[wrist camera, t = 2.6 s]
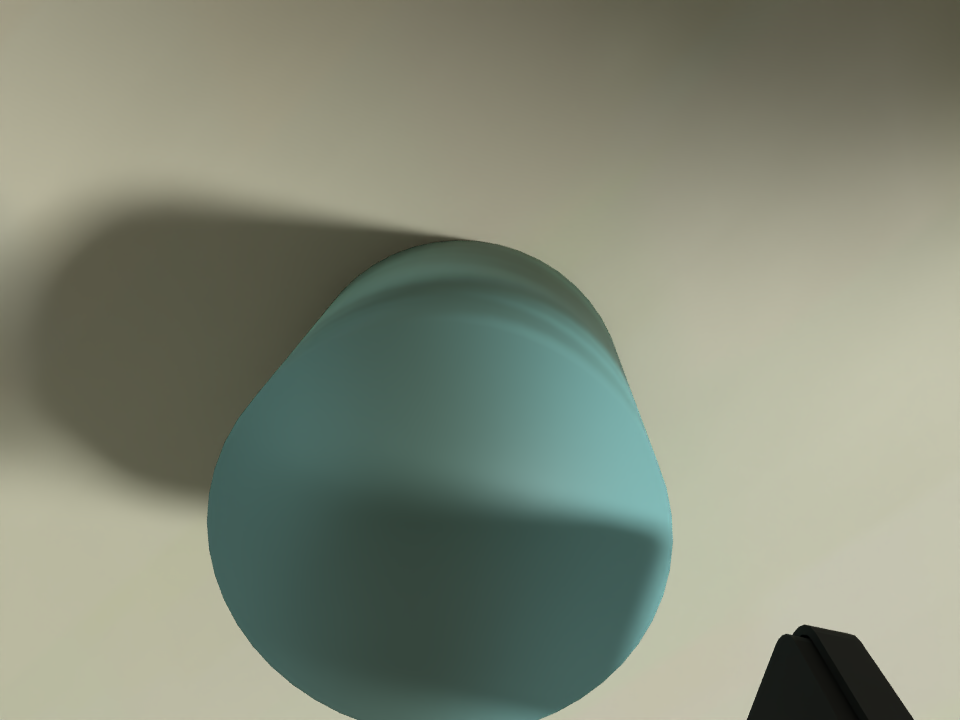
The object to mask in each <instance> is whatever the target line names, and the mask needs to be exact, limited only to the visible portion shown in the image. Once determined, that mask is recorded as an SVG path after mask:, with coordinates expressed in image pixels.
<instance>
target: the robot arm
mask: <svg viewBox="0 0 960 720" xmlns="http://www.w3.org/2000/svg"><path fill="white" fill-rule="evenodd" d="M747 720H914V719H913V718H912V716H911V715H910V713H909V712H908V710H907V709H906V707H905V706H904V704H903V703H902V701H901V700H900V698H899V697H898V696H897V694H896V693H895V691H894V690H893V688H892V687H891V685H890V684H889V682H888V681H887V679H886V678H885V676H884V675H883V674H882V672H881V671H880V669H879V668H878V666H877V665H876V663H875V662H874V660H873V659H872V657H871V656H870V654H869V653H868V652H867V650H866V649H865V647H864V646H863V644H862V643H861V641H860V640H859V639H858V638H857V637H856V636H855V635H851V634H847V633H843V632H838V631H833V630H828V629H823V628H819V627H814V626H809V625H802V626H800V627H798V628H797V630H796V631H795V632H794V633H793V635H789V634H785V635H782V636H781V637H780V638H779V639H778V641H777V643H776V645H775V648H774V651H773V653H772V656H771V658H770V661H769V664H768V666H767V669H766V671H765V674H764V677H763V679H762V682H761V684H760V687H759V690H758V692H757V695H756V697H755V700H754V703H753V705H752V708H751V710H750V713H749V716H748V718H747Z"/></svg>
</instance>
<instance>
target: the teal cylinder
mask: <svg viewBox="0 0 960 720" xmlns="http://www.w3.org/2000/svg"><path fill="white" fill-rule="evenodd" d="M207 528H208V541H209V551H210V555H211V560H212V564H213V569H214V573H215V577H216V579H217V582H218V585H219V587H220V590H221V593H222V595H223V598H224V601H225V602H226V604H227V606H228V608H229V610H230V612H231V614H232V616H233V617H234V619H235V621H236V623H237V625H238V626H239V628H240V629H241V630H242V632H243V633H244V635H245V636H246V637H247V639H248V640H249V642H250V643H251V644H252V646H253V647H254V648H255V649H256V650H257V651H258V652H259V654H260V655H261V656H262V657H263V658H264V659H265V660H266V661H267V662H268V663H269V664H270V666H271V667H273V668H274V669H275V670H276V671H277V672H278V673H280V674H281V675H282V676H283V677H284V678H285V679H287V680H288V681H289V682H290V683H291V684H292V685H294V686H295V687H297V688H298V689H300V690H301V691H303V692H304V693H306V694H307V695H309V696H310V697H312V698H313V699H315V700H316V701H318V702H320V703H322V704H324V705H326V706H328V707H330V708H332V709H333V710H335V711H337V712H339V713H341V714H344V715H347V716H349V717H352V718H354V719H357V720H539V719H541V718H544V717H546V716H549V715H551V714H553V713H556V712H558V711H560V710H561V709H563V708H565V707H567V706H569V705H570V704H572V703H574V702H576V701H577V700H579V699H581V698H582V697H584V696H585V695H586V694H588V693H589V692H590V691H592V690H593V689H595V688H596V687H597V686H599V685H600V684H601V683H603V682H604V681H605V680H606V679H607V678H608V677H609V676H610V675H611V674H612V673H613V672H614V671H615V670H616V669H617V668H618V667H620V666H621V665H622V663H623V662H624V661H625V660H626V659H627V657H628V656H629V655H630V654H631V652H632V651H633V650H634V649H635V647H636V646H637V645H638V644H639V642H640V640H641V639H642V637H643V635H644V634H645V632H646V630H647V629H648V627H649V625H650V624H651V622H652V620H653V618H654V616H655V613H656V611H657V609H658V606H659V604H660V602H661V599H662V597H663V594H664V590H665V586H666V582H667V578H668V574H669V571H670V563H671V553H672V544H673V539H672V515H671V510H670V505H669V499H668V494H667V489H666V485H665V483H664V480H663V477H662V474H661V471H660V468H659V465H658V463H657V460H656V457H655V454H654V452H653V449H652V446H651V444H650V441H649V438H648V435H647V433H646V430H645V427H644V425H643V422H642V419H641V417H640V414H639V411H638V409H637V406H636V403H635V400H634V398H633V395H632V392H631V390H630V387H629V384H628V382H627V379H626V376H625V374H624V371H623V368H622V365H621V363H620V360H619V357H618V355H617V352H616V349H615V347H614V344H613V341H612V339H611V336H610V334H609V332H608V330H607V328H606V326H605V324H604V322H603V320H602V318H601V317H600V315H599V314H598V313H597V311H596V310H595V308H594V307H593V305H592V304H591V303H590V301H589V300H588V299H587V298H586V297H585V296H584V295H583V294H582V292H581V291H580V290H579V289H578V288H577V287H576V286H575V285H574V284H573V283H571V282H570V281H569V280H568V279H567V278H565V277H564V276H563V275H562V274H561V273H559V272H558V271H556V270H555V269H553V268H552V267H550V266H548V265H547V264H545V263H544V262H542V261H540V260H538V259H536V258H534V257H532V256H530V255H527V254H525V253H523V252H521V251H518V250H514V249H511V248H508V247H505V246H501V245H497V244H491V243H485V242H479V241H458V240H454V241H444V242H434V243H429V244H425V245H421V246H416V247H412V248H409V249H407V250H404V251H401V252H399V253H396V254H393V255H391V256H389V257H388V258H386V259H384V260H382V261H380V262H378V263H376V264H375V265H373V266H372V267H370V268H369V269H367V270H366V271H365V272H363V273H362V274H361V275H359V276H358V277H356V278H355V279H354V280H353V281H352V282H351V283H350V284H349V285H348V286H347V287H346V288H345V289H344V290H343V291H342V292H341V293H340V294H339V296H338V297H337V298H336V299H335V301H334V302H333V303H332V304H331V305H330V307H329V308H328V309H327V310H326V311H325V313H324V314H323V315H322V316H321V317H320V319H319V320H318V321H317V322H316V324H315V325H314V326H313V327H312V328H311V330H310V331H309V332H308V333H307V334H306V336H305V337H304V338H303V339H302V341H301V342H300V343H299V344H298V345H297V347H296V348H295V349H294V350H293V351H292V353H291V354H290V355H289V356H288V357H287V359H286V360H285V361H284V362H283V364H282V365H281V366H280V367H279V368H278V370H277V371H276V372H275V373H274V374H273V376H272V377H271V378H270V379H269V381H268V382H267V383H266V384H265V385H264V387H263V388H262V389H261V390H260V391H259V393H258V394H257V395H256V396H255V398H254V399H253V400H252V401H251V403H250V404H249V405H248V407H247V408H246V409H245V410H244V412H243V413H242V414H241V416H240V417H239V418H238V420H237V422H236V424H235V425H234V427H233V429H232V431H231V432H230V434H229V436H228V438H227V439H226V441H225V443H224V446H223V448H222V451H221V454H220V456H219V459H218V461H217V464H216V467H215V470H214V474H213V479H212V483H211V488H210V492H209V501H208V515H207Z"/></svg>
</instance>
